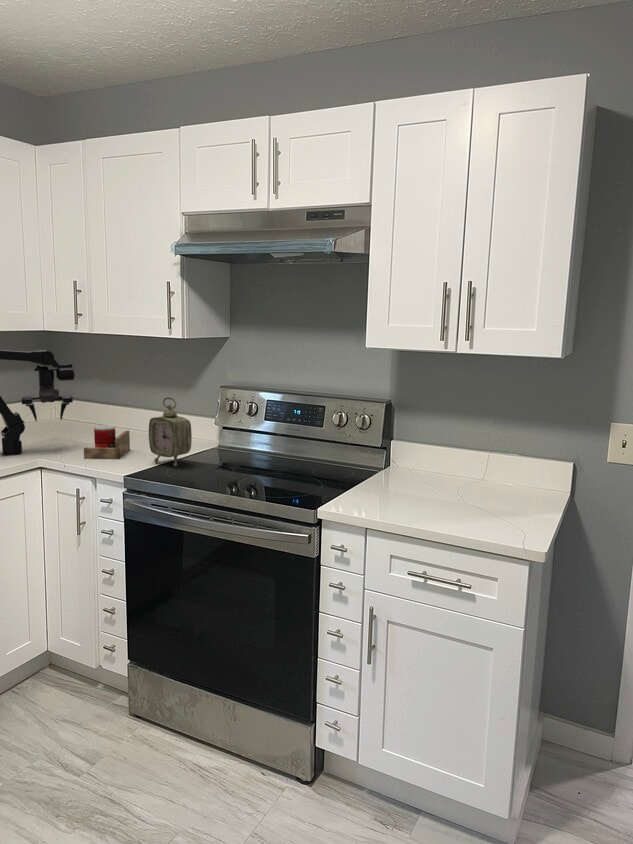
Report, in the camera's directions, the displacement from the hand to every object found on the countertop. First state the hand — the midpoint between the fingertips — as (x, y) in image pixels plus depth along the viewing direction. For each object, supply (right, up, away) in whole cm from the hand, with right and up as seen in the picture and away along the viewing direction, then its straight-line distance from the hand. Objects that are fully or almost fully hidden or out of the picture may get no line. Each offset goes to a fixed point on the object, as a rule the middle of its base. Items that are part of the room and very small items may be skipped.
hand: (48, 420), depth 258 cm
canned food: (+24, -14, -4) cm, 28 cm away
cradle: (+24, -13, -4) cm, 28 cm away
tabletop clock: (+54, -16, -17) cm, 59 cm away
